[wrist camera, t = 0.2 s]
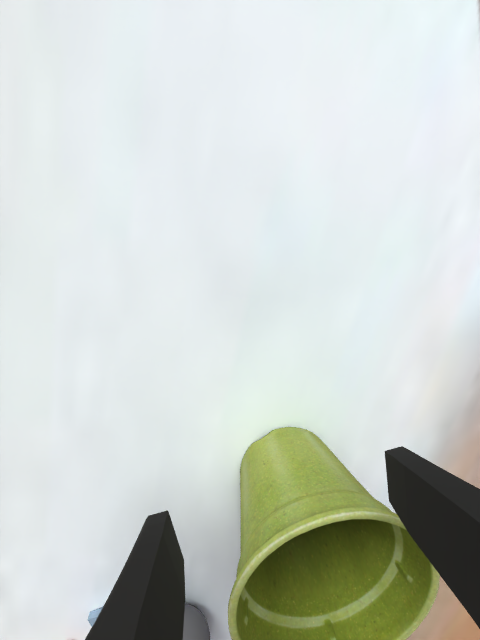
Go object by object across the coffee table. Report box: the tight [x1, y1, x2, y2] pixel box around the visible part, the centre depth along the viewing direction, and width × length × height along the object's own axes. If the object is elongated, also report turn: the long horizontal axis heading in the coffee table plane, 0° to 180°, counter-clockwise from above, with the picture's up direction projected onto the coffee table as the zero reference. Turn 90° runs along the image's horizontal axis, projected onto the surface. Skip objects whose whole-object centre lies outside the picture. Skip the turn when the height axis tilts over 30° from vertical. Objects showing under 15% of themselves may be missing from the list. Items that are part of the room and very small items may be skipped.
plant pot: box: [228, 427, 440, 640], centre depth 18 cm, size 9×9×9 cm
